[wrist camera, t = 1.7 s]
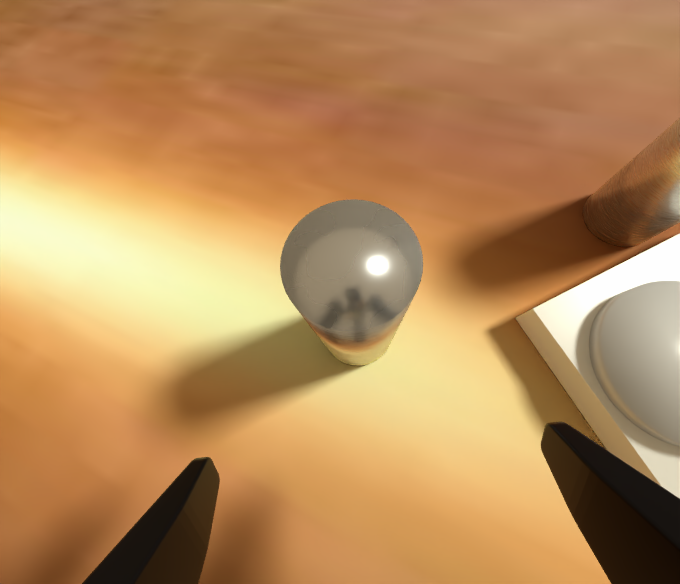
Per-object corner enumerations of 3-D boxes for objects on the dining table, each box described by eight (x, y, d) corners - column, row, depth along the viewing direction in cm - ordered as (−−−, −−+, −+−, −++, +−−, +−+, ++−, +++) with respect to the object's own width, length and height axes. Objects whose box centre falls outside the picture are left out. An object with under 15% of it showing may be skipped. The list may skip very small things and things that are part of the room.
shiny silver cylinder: (341, 378, 21) (314, 357, 10) (312, 315, 22) (260, 234, 11) (404, 346, 21) (451, 290, 10) (372, 286, 23) (380, 179, 11)
